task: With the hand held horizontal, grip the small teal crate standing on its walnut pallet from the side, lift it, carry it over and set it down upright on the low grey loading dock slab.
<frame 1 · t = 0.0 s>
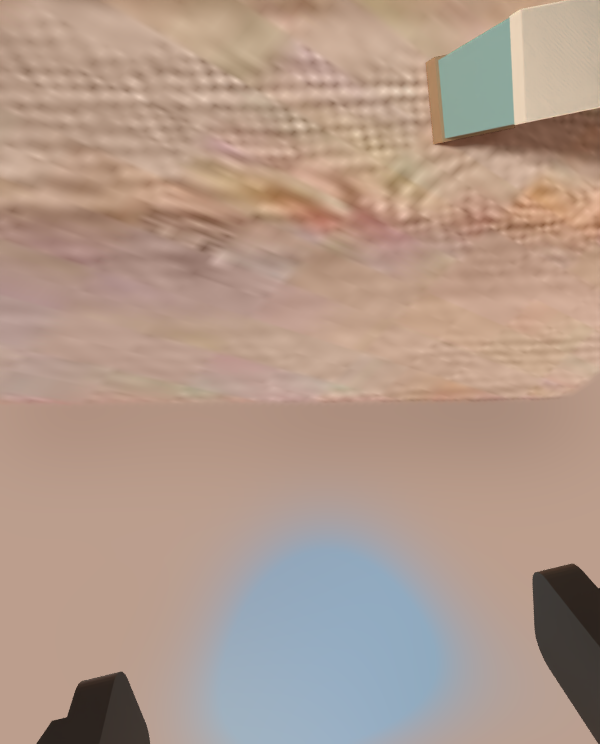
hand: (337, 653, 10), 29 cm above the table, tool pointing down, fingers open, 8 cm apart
pallet crate: (465, 97, 35), on the table
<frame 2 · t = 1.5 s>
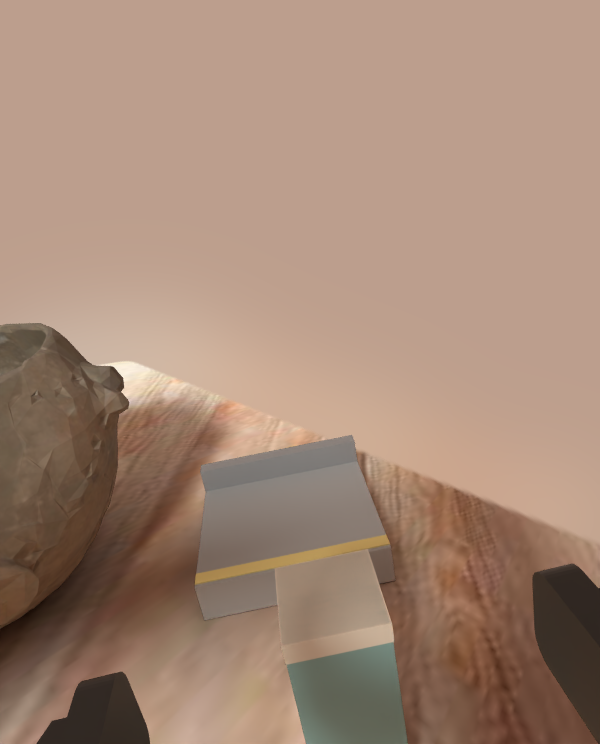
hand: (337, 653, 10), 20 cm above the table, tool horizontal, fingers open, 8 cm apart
bowl: (6, 584, 46), on the table
dock: (293, 545, 44), on the table
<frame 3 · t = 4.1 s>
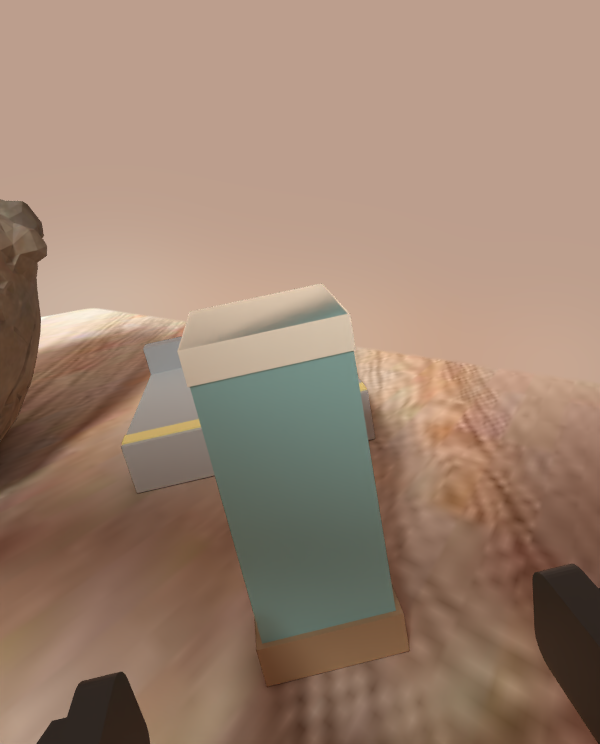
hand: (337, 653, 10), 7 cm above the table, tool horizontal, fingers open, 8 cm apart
pallet crate: (326, 613, 20), on the table
dock: (253, 422, 37), on the table
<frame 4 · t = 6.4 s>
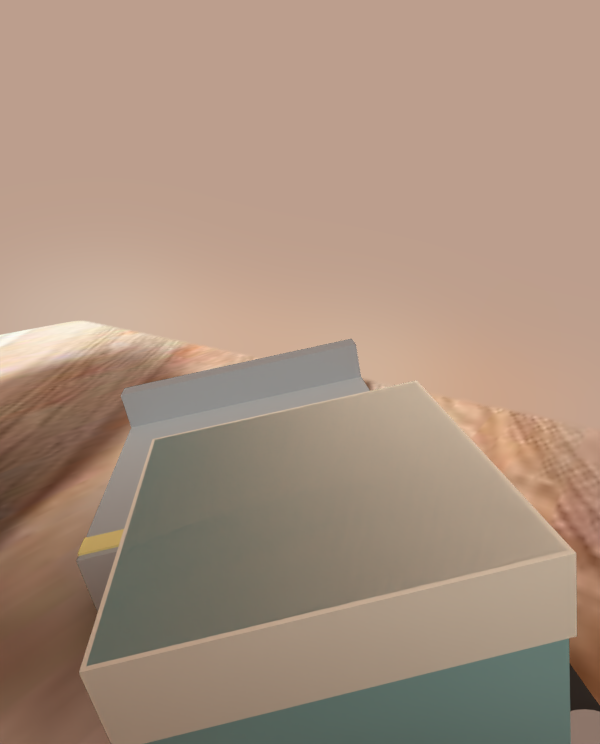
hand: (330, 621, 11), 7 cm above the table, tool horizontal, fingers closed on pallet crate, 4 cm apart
dock: (263, 499, 28), on the table
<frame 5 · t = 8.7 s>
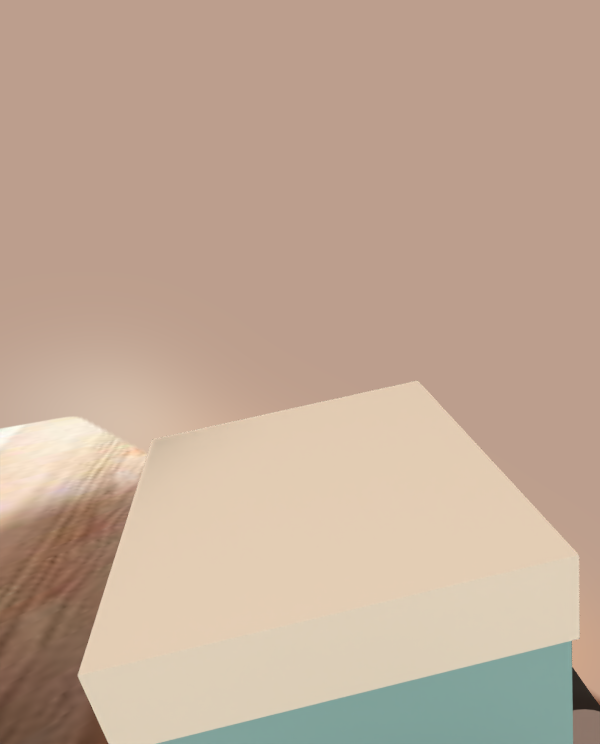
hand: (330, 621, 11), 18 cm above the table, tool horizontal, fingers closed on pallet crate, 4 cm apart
when the fingers open (11 cm above the table, at t = 10.8 s): pallet crate drops 1 cm, resting on dock.
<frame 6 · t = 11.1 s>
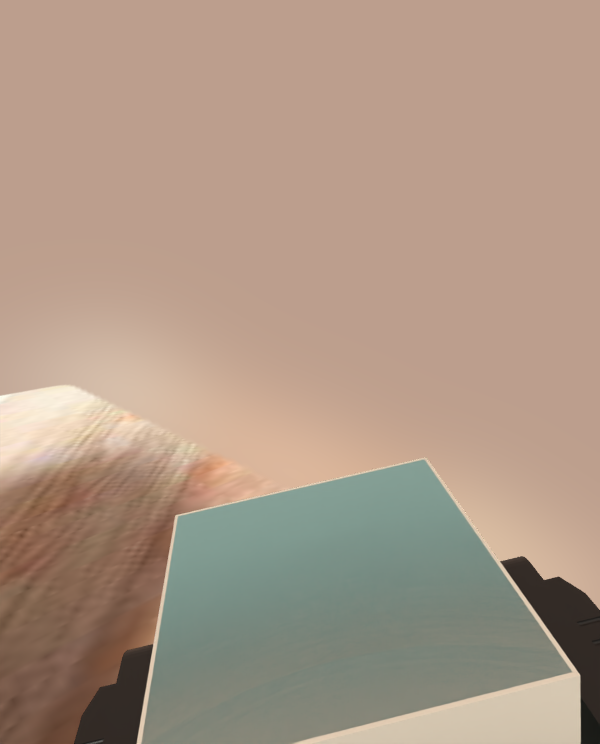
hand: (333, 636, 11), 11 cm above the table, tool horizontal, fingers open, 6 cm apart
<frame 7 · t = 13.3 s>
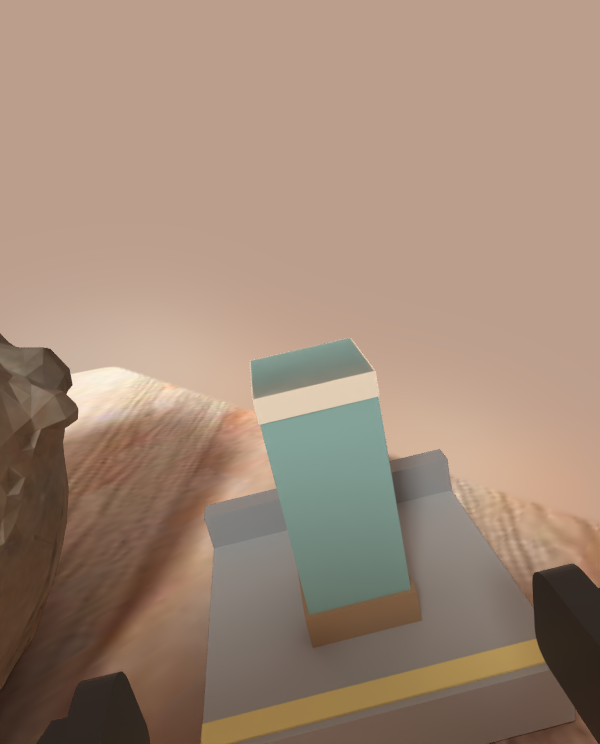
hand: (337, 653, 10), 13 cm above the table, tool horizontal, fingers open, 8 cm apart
pallet crate: (355, 594, 25), point 3 cm above the table, touching dock
dock: (365, 641, 26), on the table
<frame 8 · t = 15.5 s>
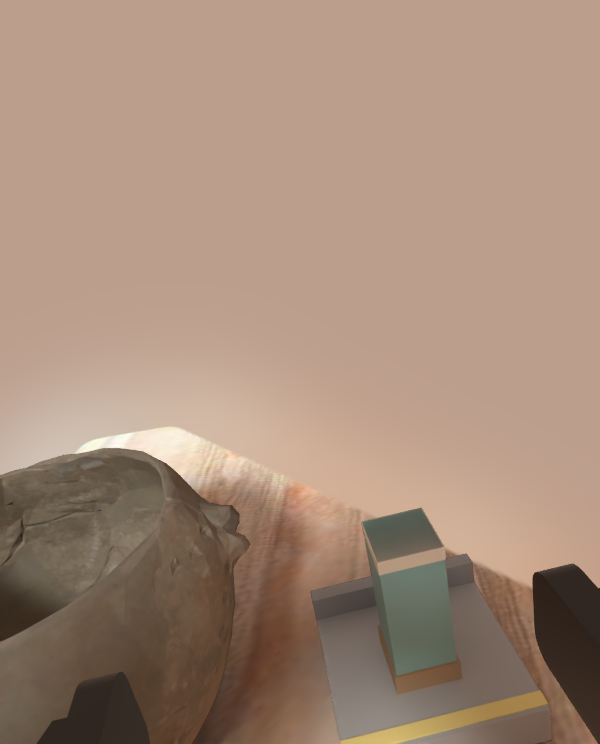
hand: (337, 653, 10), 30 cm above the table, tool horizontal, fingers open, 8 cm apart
bowl: (111, 731, 43), on the table
pallet crate: (419, 658, 41), point 3 cm above the table, touching dock
dock: (422, 687, 42), on the table
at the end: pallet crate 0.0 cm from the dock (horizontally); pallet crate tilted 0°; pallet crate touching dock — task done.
